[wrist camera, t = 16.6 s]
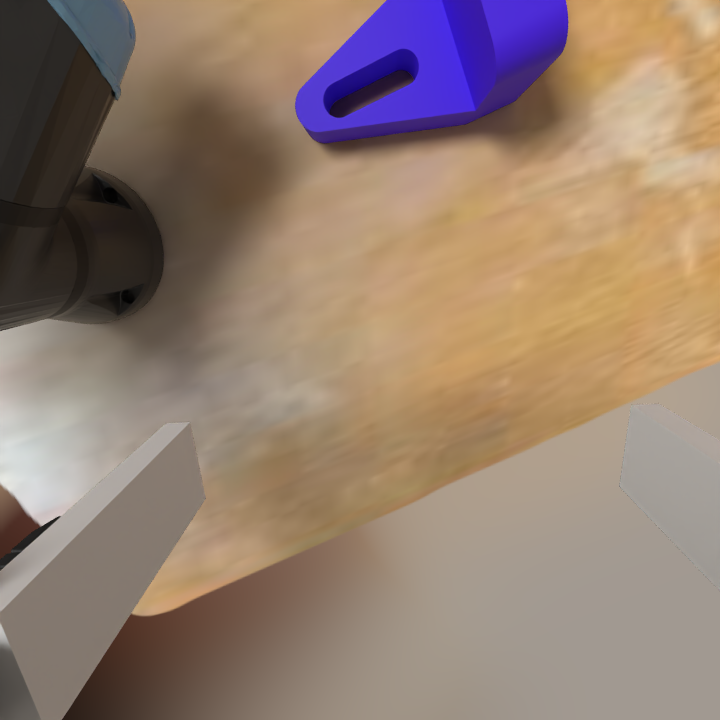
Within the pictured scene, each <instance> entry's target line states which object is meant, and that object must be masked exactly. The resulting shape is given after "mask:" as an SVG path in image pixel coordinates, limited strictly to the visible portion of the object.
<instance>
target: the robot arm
mask: <svg viewBox="0 0 720 720" xmlns="http://www.w3.org/2000/svg"><path fill="white" fill-rule="evenodd" d="M135 41H136V33H135V27H134V23H133V20H132V17H131V14H130V12H129V10H128V8H127V7H126V5H125V3H124V2H123V0H0V331H2V330H6V329H10V328H13V327H17V326H21V325H25V324H29V323H32V322H36V321H40V320H44V319H54V320H61V321H68V322H75V323H83V324H99V323H106V322H110V321H114V320H117V319H120V318H123V317H126V316H129V315H131V314H133V313H135V312H136V311H138V310H139V309H141V308H142V307H143V306H144V305H145V304H146V303H147V302H148V301H149V300H150V299H151V297H152V296H153V294H154V293H155V291H156V289H157V287H158V284H159V282H160V279H161V275H162V270H163V247H162V241H161V237H160V234H159V230H158V228H157V225H156V223H155V221H154V218H153V217H152V215H151V213H150V211H149V210H148V208H147V207H146V205H145V204H144V203H143V201H142V200H141V199H140V198H139V197H138V195H137V194H136V193H135V192H134V191H133V190H132V189H130V188H129V187H128V186H127V185H126V184H124V183H123V182H122V181H120V180H119V179H117V178H115V177H114V176H112V175H110V174H108V173H105V172H103V171H100V170H97V169H94V168H90V167H86V166H85V164H86V161H87V159H88V157H89V155H90V153H91V150H92V148H93V146H94V144H95V142H96V139H97V137H98V135H99V133H100V131H101V128H102V126H103V124H104V122H105V120H106V117H107V115H108V113H109V111H110V109H111V106H112V104H113V102H114V100H118V99H119V97H120V95H121V89H120V84H121V81H122V78H123V76H124V73H125V70H126V68H127V65H128V62H129V60H130V57H131V55H132V52H133V49H134V46H135ZM619 487H620V488H621V489H622V490H623V491H624V492H625V493H626V494H627V495H628V496H629V497H630V498H631V499H632V500H633V501H634V502H635V504H636V505H637V506H638V507H639V508H640V509H641V510H642V511H643V512H644V513H645V514H646V515H647V516H648V517H649V518H650V519H651V520H652V521H653V522H654V523H655V524H656V525H657V526H658V527H659V529H661V531H662V532H663V533H664V534H665V535H666V536H667V537H668V538H669V539H670V540H671V541H672V542H673V543H674V544H675V545H676V546H677V547H678V548H679V549H680V550H681V551H682V552H683V553H684V554H685V556H686V557H688V559H689V560H690V561H691V562H692V563H693V564H694V565H695V566H696V567H697V568H698V569H699V570H700V571H701V572H702V573H703V574H704V575H705V576H706V577H707V578H708V580H710V582H711V583H712V584H713V585H714V586H715V587H716V588H717V589H718V590H719V591H720V440H719V439H717V438H716V437H714V436H712V435H710V434H709V433H707V432H706V431H704V430H702V429H701V428H699V427H697V426H695V425H694V424H692V423H691V422H689V421H687V420H685V419H684V418H682V417H680V416H679V415H677V414H675V413H674V412H672V411H670V410H669V409H667V408H665V407H664V406H662V405H660V404H659V403H656V404H631V409H630V416H629V422H628V429H627V436H626V443H625V450H624V457H623V464H622V471H621V478H620V485H619ZM205 499H206V497H205V492H204V487H203V483H202V478H201V473H200V468H199V463H198V458H197V453H196V448H195V443H194V438H193V433H192V429H191V424H190V422H180V423H166V424H164V425H163V426H162V427H161V428H160V429H159V430H158V431H157V432H156V433H154V434H153V435H152V436H151V437H150V438H149V439H148V440H147V441H145V442H144V443H143V444H142V445H141V446H140V447H139V448H138V449H136V450H135V451H134V452H133V453H132V454H131V455H130V456H129V457H127V458H126V459H125V460H124V461H123V462H122V463H121V464H120V465H118V466H117V467H116V468H115V469H114V470H113V471H112V472H111V473H109V474H108V475H107V476H106V477H105V478H104V479H103V480H102V481H100V482H99V483H98V484H97V485H96V486H95V487H94V488H93V489H91V490H90V491H89V492H88V493H87V494H86V495H85V496H84V497H83V498H81V499H80V500H79V501H78V502H77V503H76V504H75V505H74V506H72V507H71V508H70V509H69V510H68V511H67V512H66V513H65V514H63V515H62V516H58V517H57V518H55V519H53V520H51V521H50V522H48V523H46V524H45V525H43V526H41V527H40V528H38V529H36V530H35V531H33V532H32V533H31V534H29V535H28V536H27V537H26V538H25V539H23V540H22V541H21V542H20V543H19V544H18V545H17V546H15V547H14V548H13V549H12V550H11V553H10V554H6V555H5V556H4V557H3V558H1V559H0V720H62V718H63V717H64V715H65V714H66V712H67V711H68V709H69V708H70V706H71V704H72V703H73V701H74V700H75V698H76V697H77V695H78V694H79V692H80V691H81V689H82V687H83V686H84V684H85V683H86V682H87V680H88V679H89V677H90V675H91V674H92V672H93V671H94V669H95V668H96V666H97V665H98V663H99V662H100V660H101V659H102V657H103V655H104V654H105V652H106V651H107V649H108V648H109V646H110V645H111V643H112V642H113V640H114V639H115V637H116V636H117V634H118V632H119V631H120V629H121V628H122V626H123V625H124V623H125V622H126V620H127V618H128V617H129V616H130V614H131V612H132V611H133V609H134V608H135V606H136V605H137V603H138V602H139V600H140V599H141V597H142V596H143V594H144V593H145V591H146V589H147V588H148V586H149V585H150V583H151V582H152V580H153V579H154V577H155V576H156V574H157V573H158V571H159V569H160V568H161V566H162V565H163V563H164V562H165V560H166V559H167V557H168V556H169V554H170V553H171V551H172V550H173V548H174V546H175V545H176V543H177V542H178V540H179V539H180V537H181V536H182V534H183V533H184V531H185V530H186V528H187V526H188V525H189V523H190V522H191V520H192V519H193V517H194V516H195V514H196V513H197V511H198V510H199V508H200V507H201V505H202V503H203V502H204V500H205Z"/></svg>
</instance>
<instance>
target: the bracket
mask: <svg viewBox="0 0 720 720" xmlns="http://www.w3.org/2000/svg"><path fill="white" fill-rule="evenodd" d="M567 33H568V12H567V5H566V0H387V1H386V2H385V3H384V4H383V5H382V6H381V7H380V8H379V9H378V10H377V11H376V12H375V13H374V14H373V15H372V16H371V17H370V18H369V19H368V20H367V21H366V22H365V23H364V24H363V25H362V26H361V27H360V28H359V29H358V30H357V31H356V32H355V33H354V34H353V35H352V36H351V37H350V38H349V39H348V40H347V41H346V43H345V44H344V45H343V46H342V47H341V48H340V49H339V50H338V51H337V52H336V53H335V54H334V55H333V56H332V57H331V58H330V59H329V60H328V61H327V62H326V63H325V64H324V65H323V66H322V67H321V68H320V69H319V70H318V71H317V72H316V73H315V74H314V75H313V76H312V77H311V78H310V79H309V80H308V81H307V82H306V83H305V85H304V86H303V87H302V88H301V89H300V90H299V92H298V94H297V97H296V102H295V109H296V114H297V117H298V119H299V121H300V122H301V124H302V125H303V126H304V128H305V129H306V131H307V132H308V134H309V135H310V136H311V137H312V138H313V139H314V140H316V141H317V142H320V143H332V142H339V141H347V140H354V139H361V138H369V137H376V136H384V135H391V134H399V133H406V132H413V131H421V130H428V129H436V128H443V127H451V126H458V125H465V124H468V123H470V122H472V121H474V120H476V119H478V118H480V117H482V116H485V115H487V114H489V113H491V112H493V111H495V110H497V109H499V108H502V107H504V106H506V105H508V104H510V103H512V102H514V101H516V99H517V98H518V97H519V96H520V95H521V94H522V93H523V92H524V91H525V90H526V89H527V88H528V87H529V86H530V85H531V84H532V83H533V82H534V81H535V80H536V79H537V78H538V77H539V76H540V75H541V74H542V73H543V72H544V71H545V70H546V69H547V68H548V67H549V66H550V65H551V64H552V63H553V62H554V61H555V60H556V59H557V58H558V57H559V56H560V55H561V53H562V52H563V50H564V47H565V44H566V40H567ZM397 70H405V71H407V72H409V73H410V74H411V76H412V77H413V79H414V81H413V82H412V83H411V84H409V85H407V86H405V87H403V88H401V89H399V90H397V91H395V92H393V93H391V94H389V95H387V96H385V97H383V98H381V99H379V100H377V101H375V102H373V103H371V104H369V105H367V106H365V107H363V108H361V109H359V110H357V111H355V112H353V113H351V114H349V115H347V116H345V117H342V118H336V117H333V116H331V115H330V109H331V107H332V105H333V104H334V103H335V102H336V101H337V100H339V99H341V98H343V97H345V96H347V95H349V94H351V93H353V92H355V91H357V90H359V89H361V88H363V87H365V86H367V85H369V84H371V83H373V82H375V81H377V80H379V79H381V78H383V77H385V76H387V75H389V74H391V73H393V72H395V71H397Z"/></svg>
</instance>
